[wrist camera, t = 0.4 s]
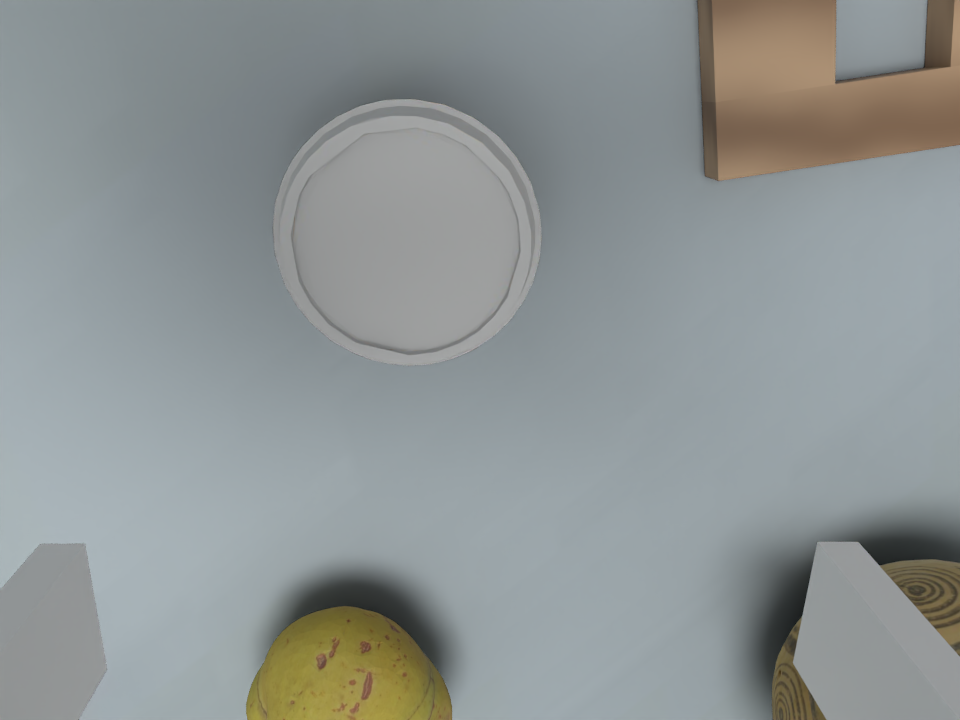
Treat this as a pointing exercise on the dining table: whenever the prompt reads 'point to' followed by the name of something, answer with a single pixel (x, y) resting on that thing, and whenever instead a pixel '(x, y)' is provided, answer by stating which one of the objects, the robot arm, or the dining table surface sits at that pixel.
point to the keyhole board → (815, 90)
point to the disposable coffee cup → (407, 232)
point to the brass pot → (928, 585)
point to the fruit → (347, 672)
